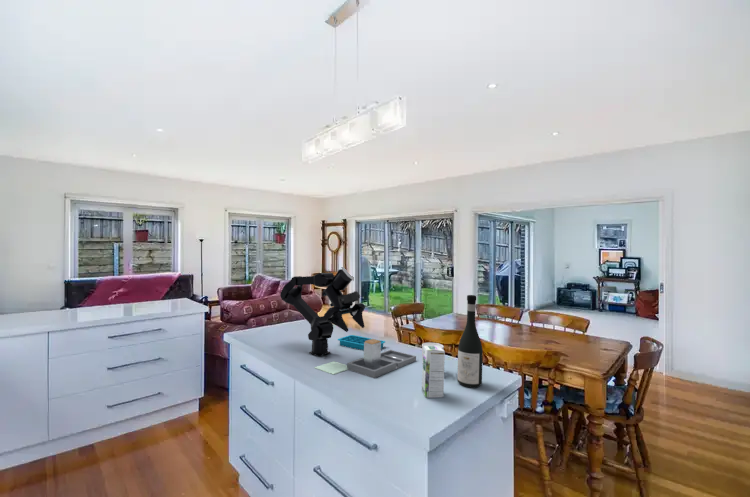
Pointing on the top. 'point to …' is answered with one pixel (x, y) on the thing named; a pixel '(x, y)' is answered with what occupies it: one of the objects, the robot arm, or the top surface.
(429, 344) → the white cup
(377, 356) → the block
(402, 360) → the rod
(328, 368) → the mat
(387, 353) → the grey compartment tray
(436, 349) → the syrup box
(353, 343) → the ice cube tray
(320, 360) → the top surface
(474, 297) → the wine bottle
